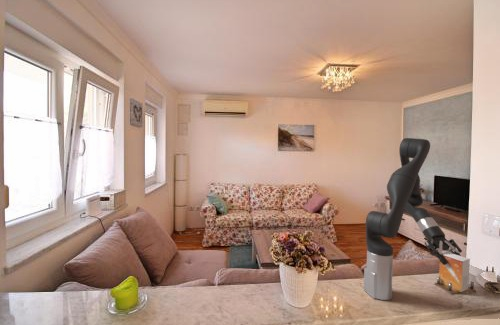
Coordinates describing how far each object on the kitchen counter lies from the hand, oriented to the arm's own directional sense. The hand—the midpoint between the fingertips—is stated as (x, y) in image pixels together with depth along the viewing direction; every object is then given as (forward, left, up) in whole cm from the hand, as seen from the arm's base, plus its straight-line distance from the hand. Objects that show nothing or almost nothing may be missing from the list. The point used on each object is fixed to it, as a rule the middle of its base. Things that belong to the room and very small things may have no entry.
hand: (454, 263), depth 99 cm
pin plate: (+1, 0, -11) cm, 11 cm away
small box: (0, 0, -10) cm, 10 cm away
